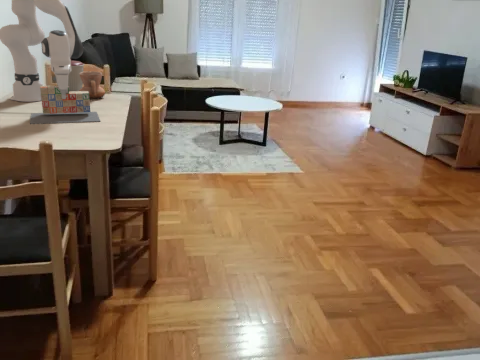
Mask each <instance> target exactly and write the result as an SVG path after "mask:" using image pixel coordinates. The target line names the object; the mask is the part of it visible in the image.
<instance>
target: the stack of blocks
mask: <svg viewBox="0 0 480 360" xmlns="http://www.w3.org/2000/svg"><path fill="white" fill-rule="evenodd" d="M40 90H41V100H40V101H41V107H42V113H43V114H53V113H77V112H91V101H90V100H91V99H89V92H88V91H70V92H69V87H68V90H67V91H66V99H62V95H61V91H60V90H59V87H58V85H57V84H56V85H43V86H40Z"/></svg>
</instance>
